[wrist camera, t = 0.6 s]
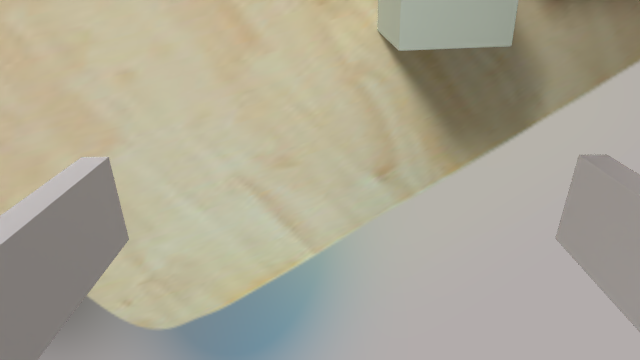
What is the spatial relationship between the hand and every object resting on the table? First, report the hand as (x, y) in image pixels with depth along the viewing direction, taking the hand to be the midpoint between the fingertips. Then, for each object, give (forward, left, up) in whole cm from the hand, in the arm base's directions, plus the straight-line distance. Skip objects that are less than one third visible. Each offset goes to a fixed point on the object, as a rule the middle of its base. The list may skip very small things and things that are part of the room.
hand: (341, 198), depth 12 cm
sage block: (-5, +7, -23) cm, 24 cm away
